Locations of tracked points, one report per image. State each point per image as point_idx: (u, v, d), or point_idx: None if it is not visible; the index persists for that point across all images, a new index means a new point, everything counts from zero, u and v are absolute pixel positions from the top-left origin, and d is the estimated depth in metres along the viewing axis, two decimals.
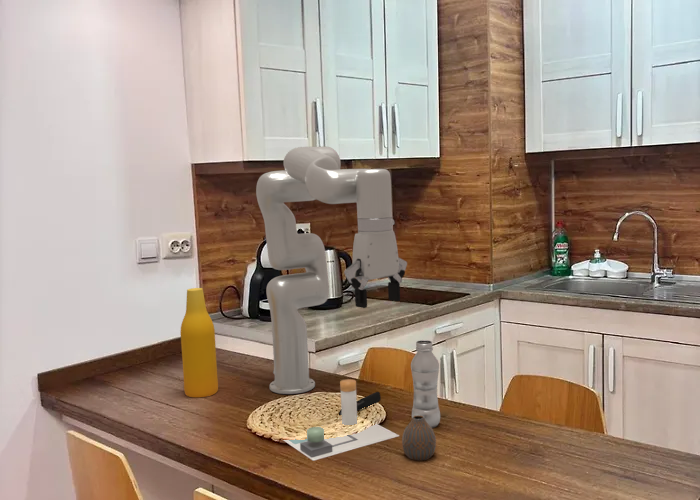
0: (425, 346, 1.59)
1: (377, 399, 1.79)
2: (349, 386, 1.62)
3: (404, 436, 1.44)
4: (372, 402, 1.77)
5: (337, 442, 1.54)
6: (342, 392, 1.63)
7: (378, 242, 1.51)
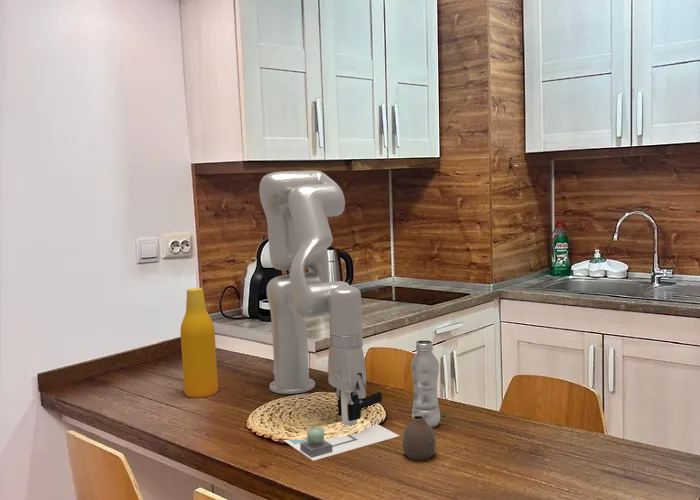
0: (425, 346, 1.59)
1: (378, 399, 1.79)
2: None
3: (404, 436, 1.44)
4: (373, 402, 1.77)
5: (337, 442, 1.54)
6: (342, 392, 1.63)
7: None
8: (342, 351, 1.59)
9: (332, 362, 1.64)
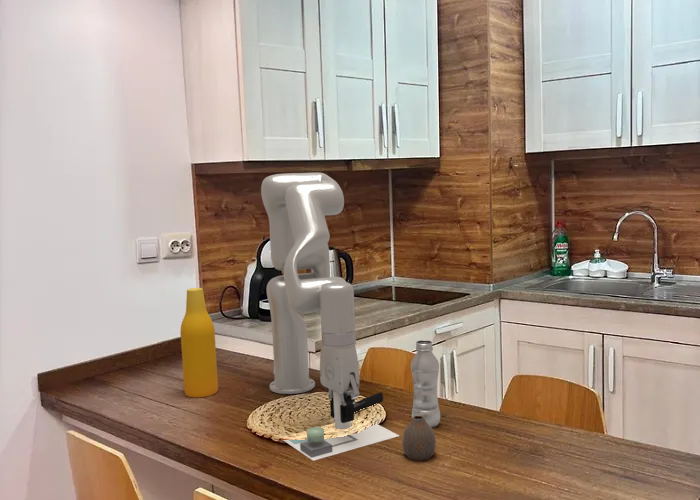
0: (425, 346, 1.59)
1: (379, 400, 1.79)
2: None
3: (404, 436, 1.44)
4: (374, 403, 1.77)
5: (337, 442, 1.54)
6: (334, 393, 1.55)
7: None
8: (334, 349, 1.52)
9: (323, 362, 1.56)
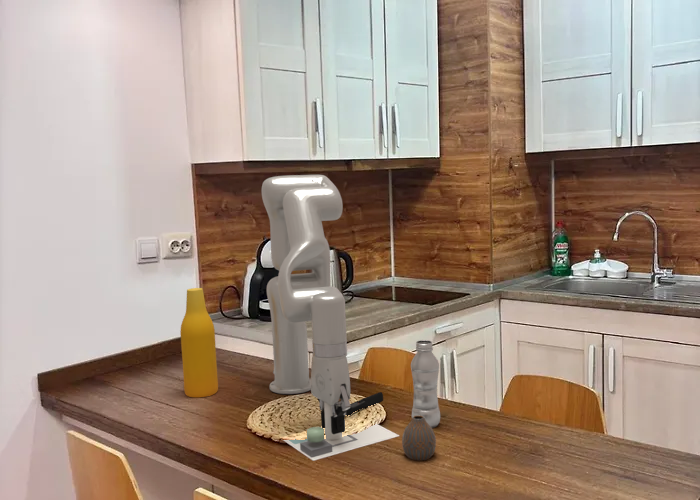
0: (425, 346, 1.59)
1: (379, 399, 1.79)
2: None
3: (404, 436, 1.44)
4: (373, 402, 1.77)
5: (337, 442, 1.54)
6: (325, 404, 1.55)
7: None
8: (325, 361, 1.51)
9: (314, 372, 1.56)
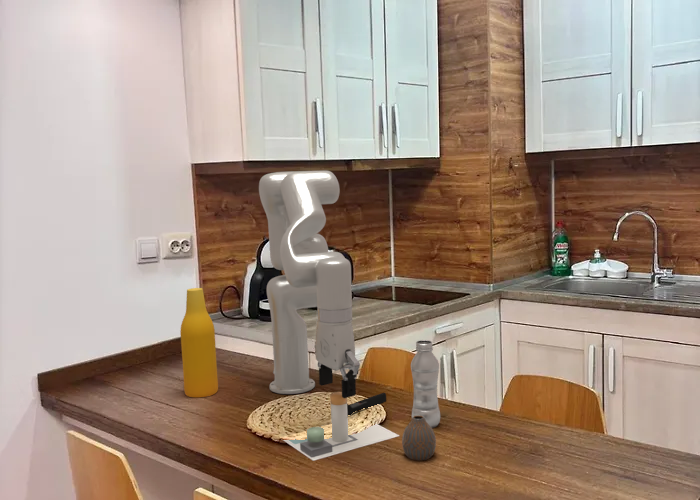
0: (425, 346, 1.59)
1: (382, 400, 1.79)
2: (340, 399, 1.53)
3: (404, 436, 1.44)
4: (376, 403, 1.77)
5: (337, 442, 1.54)
6: (332, 405, 1.54)
7: None
8: (330, 326, 1.50)
9: (319, 338, 1.54)
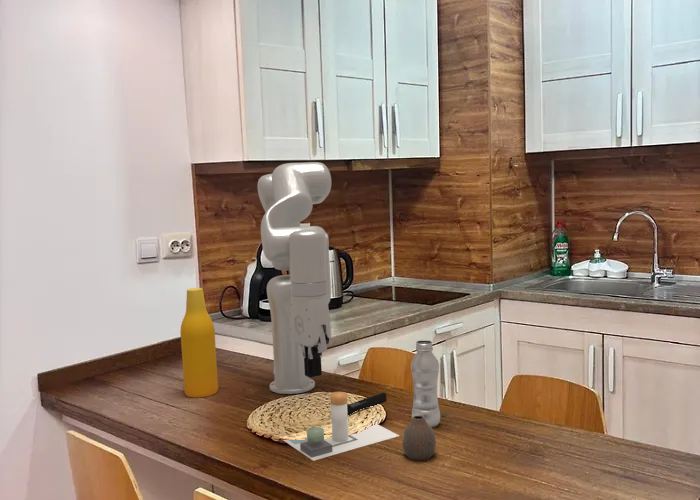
0: (425, 346, 1.59)
1: (382, 400, 1.79)
2: (340, 399, 1.53)
3: (404, 436, 1.44)
4: (375, 403, 1.77)
5: (337, 442, 1.54)
6: (332, 405, 1.54)
7: None
8: (304, 300, 1.43)
9: (293, 314, 1.47)
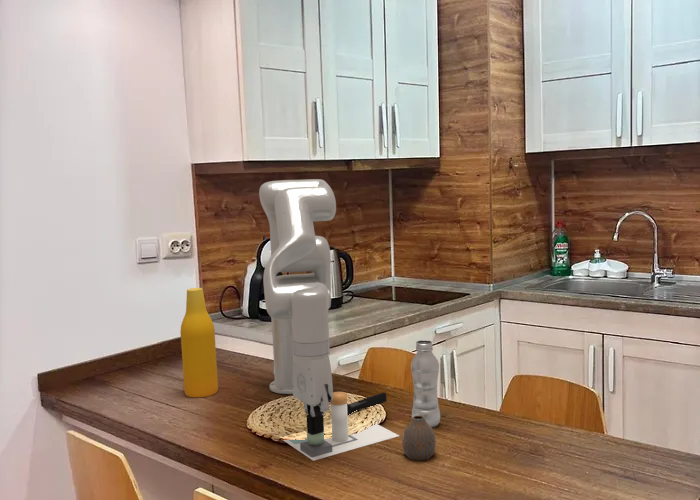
0: (425, 346, 1.59)
1: (382, 400, 1.79)
2: (340, 399, 1.53)
3: (404, 436, 1.44)
4: (375, 403, 1.77)
5: (337, 442, 1.54)
6: (332, 405, 1.54)
7: None
8: (306, 360, 1.44)
9: (296, 372, 1.48)
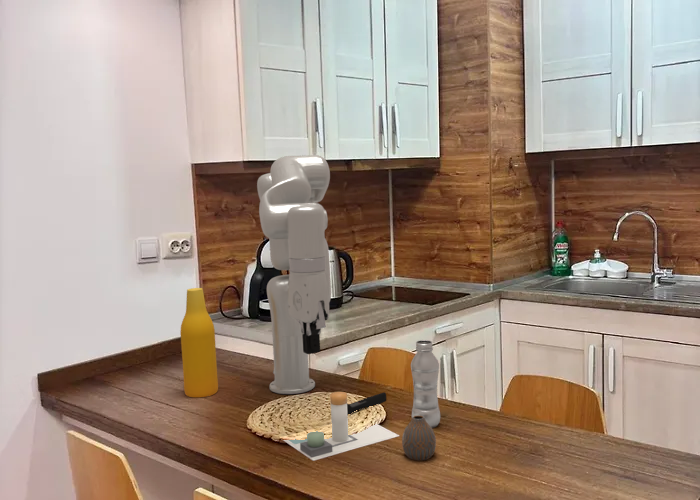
0: (425, 346, 1.59)
1: (382, 400, 1.79)
2: (340, 399, 1.53)
3: (404, 436, 1.44)
4: (375, 402, 1.77)
5: (337, 442, 1.54)
6: (332, 405, 1.54)
7: None
8: (302, 276, 1.42)
9: (292, 291, 1.46)
